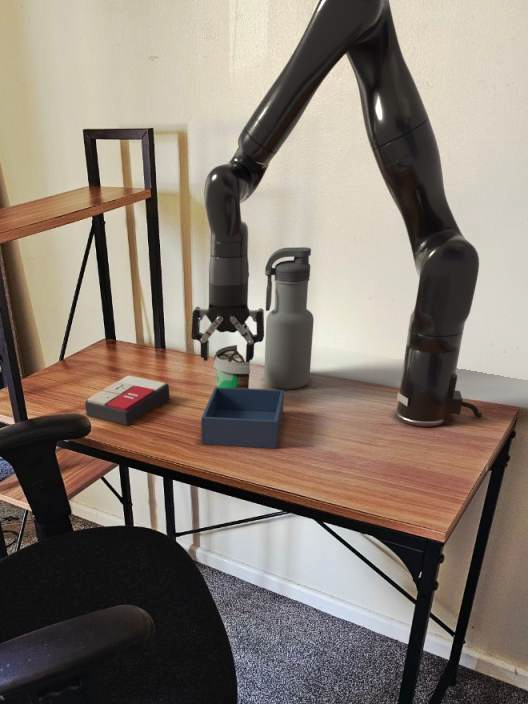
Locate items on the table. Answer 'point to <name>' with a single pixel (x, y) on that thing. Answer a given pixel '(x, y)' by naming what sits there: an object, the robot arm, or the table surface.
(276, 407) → the tote
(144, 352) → the table surface
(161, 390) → the calculator
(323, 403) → the table surface
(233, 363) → the food container
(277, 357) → the water bottle
